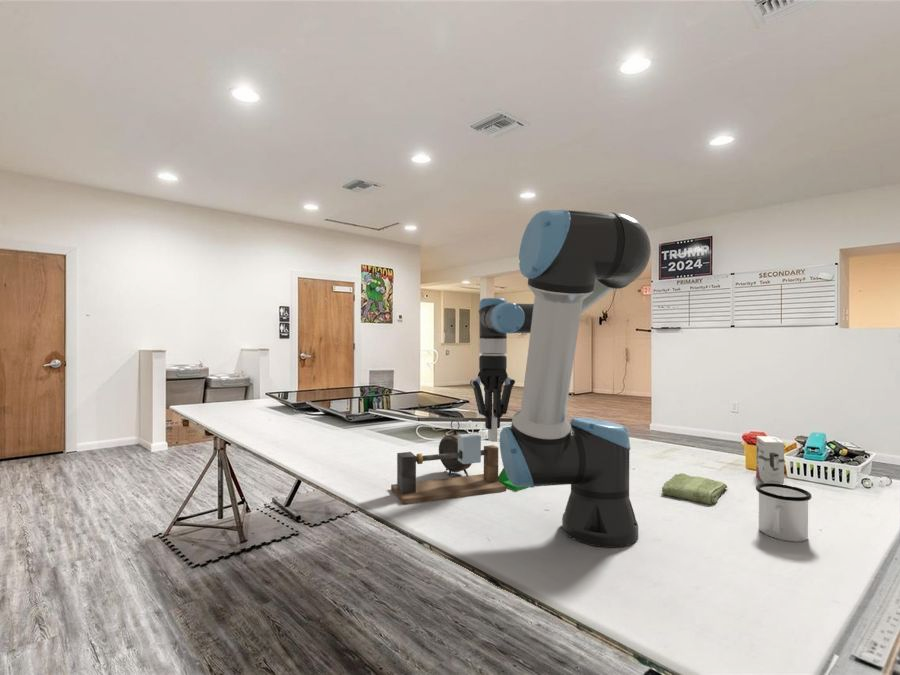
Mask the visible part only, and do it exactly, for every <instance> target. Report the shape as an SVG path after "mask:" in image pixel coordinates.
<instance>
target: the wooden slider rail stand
mask: <svg viewBox="0 0 900 675" xmlns="http://www.w3.org/2000/svg"><path fill="white" fill-rule="evenodd" d="M396 455H397V456H396V461H397V462H396V463H397V464H396V465H397V466H396V468H397V470H396V471H397V472H396V483H394V484H391V487H390V490H391V491H392V493H394V495H395V496H396V498H398V500H399V501H400V502H401V504H402V505H409V504H415V503H422V502H431V501H438V500H445V499H452V498H462V497H469V496H476V495H483V494H484V495H485V494H491V493H493V494H494V493H498V492H499V493H500V492H506V491H507V487H506V486H505V485H503V484H502V483H500V482H499V481H498V476H499V447H498V446H496V445H494V444H492V445H483V449H481V456H483V473H482V474H481V473H480V474H473V475H468V476H466V475H463V476H456V477H448V478H436V479H429V480H428V479H427V480H421V481H417V465H422V464H423V462H429V461H438V460H440V461H441V459H451V458H461V457H462V452H457V453H446V454H439V453H437V454H426V455H423V454H422V453H417V454H416V455H415V454H414V453H413V452H411V451H405V452H397V453H396Z"/></svg>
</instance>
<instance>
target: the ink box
mask: <svg viewBox="0 0 900 675" xmlns="http://www.w3.org/2000/svg"><path fill="white" fill-rule="evenodd" d="M755 467H756V469H755V472H756V474H755V475H756V476H757V477H758V478H759V480H761V481H762V482H763V483H775V484H784V485H785V442H784V441H783V440H781V439H780V438H778V437H777V436H767V435H765V436H763V435H756V466H755Z"/></svg>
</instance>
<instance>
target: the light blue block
mask: <svg viewBox="0 0 900 675" xmlns="http://www.w3.org/2000/svg"><path fill="white" fill-rule="evenodd" d="M481 450H482V436H481V435H479V434H477V433H475V432H474V433H464V434H463V433H461V434H460V435H458V452H462V457H461V458H458V461H459V462H461V463H462V464H470V463H472V464H478V463H481V462H482V455H481Z"/></svg>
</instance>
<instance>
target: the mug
mask: <svg viewBox="0 0 900 675" xmlns="http://www.w3.org/2000/svg"><path fill="white" fill-rule="evenodd" d="M755 490H756V491H757V493H758V530H759V531H760V532H762V533H763V534H764V533H765V535H766V536H768V535H769V536H768V537H770V536H771V538H773V537H774V538H773V539H776V538H777V540H781V541H785V540H786V542H793V541H794V542H795V543H798V542H799V541H800V542H803V541H806V540H808V539H809V501H810V500H811V499H812V493H811V492H809V491H808V490H805V489H803V488H801V487H797V486H794V485H788V484H784V485H783V484H775V483H764V482H763V483H758V484H757V485H755Z"/></svg>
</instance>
